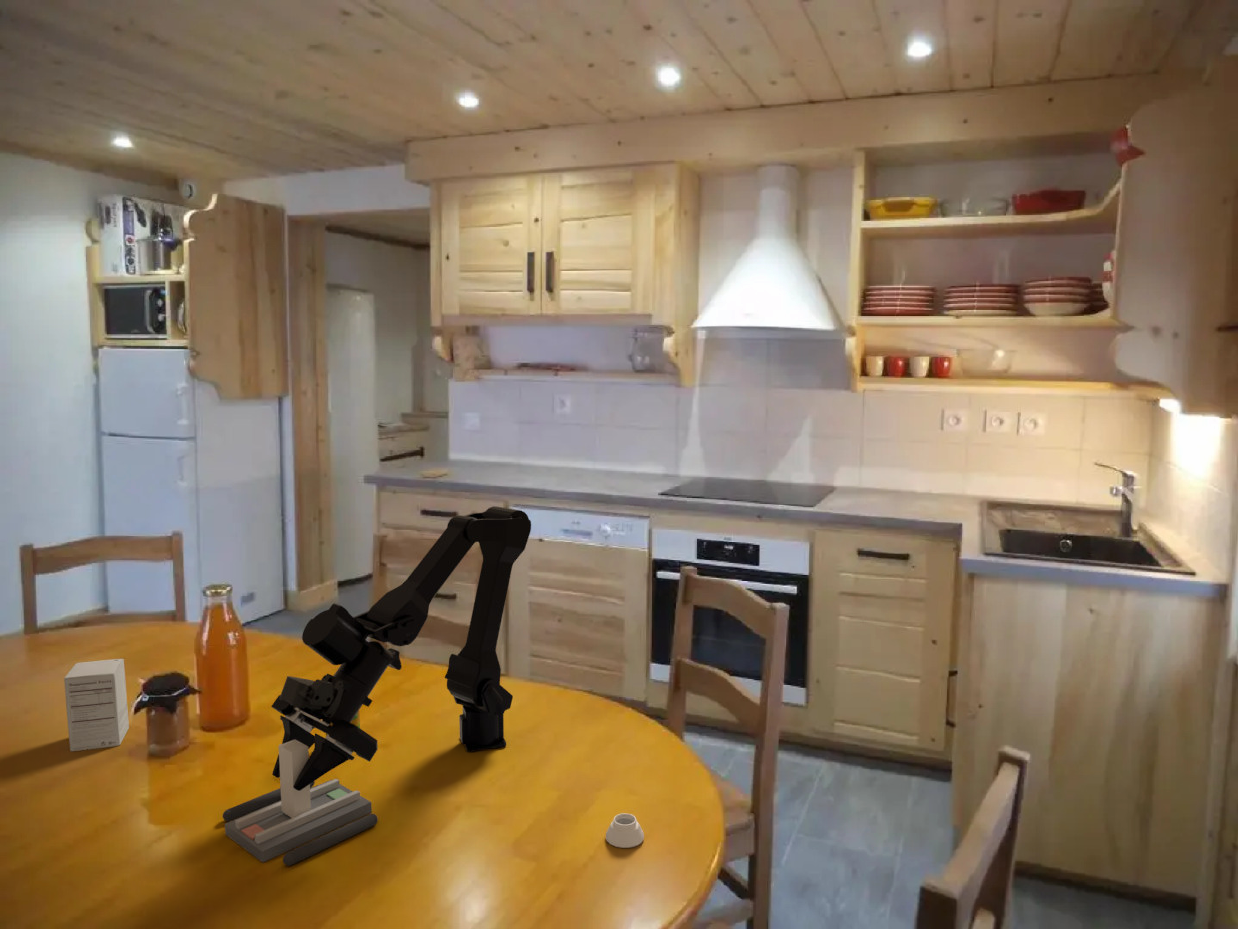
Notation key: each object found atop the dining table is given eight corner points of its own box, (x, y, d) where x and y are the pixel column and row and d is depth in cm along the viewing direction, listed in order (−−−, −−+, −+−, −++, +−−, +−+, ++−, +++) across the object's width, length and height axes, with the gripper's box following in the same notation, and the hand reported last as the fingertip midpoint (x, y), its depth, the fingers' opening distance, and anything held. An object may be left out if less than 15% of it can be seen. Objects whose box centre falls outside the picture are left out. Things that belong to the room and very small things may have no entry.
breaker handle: (297, 804, 120) (295, 739, 118) (311, 812, 117) (308, 746, 116) (281, 811, 118) (278, 745, 117) (294, 820, 116) (291, 752, 114)
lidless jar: (651, 838, 115) (622, 825, 118) (651, 818, 115) (622, 805, 118) (627, 855, 111) (598, 841, 114) (627, 833, 111) (598, 820, 114)
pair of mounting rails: (311, 784, 129) (310, 773, 129) (380, 825, 118) (380, 814, 118) (220, 821, 119) (220, 810, 118) (287, 870, 107) (286, 858, 107)
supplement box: (81, 733, 146) (75, 662, 144) (130, 728, 148) (125, 657, 146) (68, 752, 139) (62, 677, 137) (120, 746, 141) (114, 672, 139)
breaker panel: (332, 789, 127) (331, 773, 127) (371, 812, 121) (371, 795, 121) (225, 834, 115) (224, 816, 115) (262, 862, 109) (261, 844, 109)
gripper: (281, 638, 124) (208, 737, 117) (355, 668, 112) (279, 780, 105) (332, 675, 131) (266, 771, 124) (407, 708, 119) (339, 815, 112)
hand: (285, 783), depth 116 cm, fingers open, 5 cm apart
